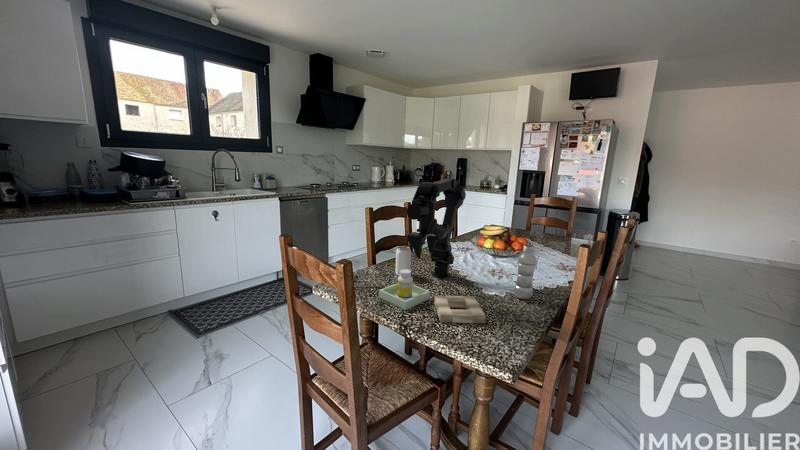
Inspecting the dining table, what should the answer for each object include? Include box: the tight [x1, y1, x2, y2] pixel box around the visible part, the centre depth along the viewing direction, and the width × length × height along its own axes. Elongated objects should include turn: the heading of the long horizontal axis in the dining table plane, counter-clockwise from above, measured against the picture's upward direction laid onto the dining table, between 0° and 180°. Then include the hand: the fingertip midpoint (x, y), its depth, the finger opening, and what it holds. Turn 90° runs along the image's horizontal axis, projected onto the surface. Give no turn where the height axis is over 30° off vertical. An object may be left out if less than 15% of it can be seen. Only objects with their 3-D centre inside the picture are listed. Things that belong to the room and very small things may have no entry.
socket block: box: [433, 295, 486, 324], centre depth 104 cm, size 14×14×2 cm
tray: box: [378, 282, 431, 311], centre depth 113 cm, size 13×13×3 cm
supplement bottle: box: [397, 269, 414, 300], centre depth 112 cm, size 5×5×10 cm
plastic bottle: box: [513, 244, 538, 300], centre depth 115 cm, size 6×7×20 cm
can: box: [395, 245, 412, 277], centre depth 135 cm, size 6×6×12 cm
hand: (424, 255), depth 121 cm, fingers open, 9 cm apart
